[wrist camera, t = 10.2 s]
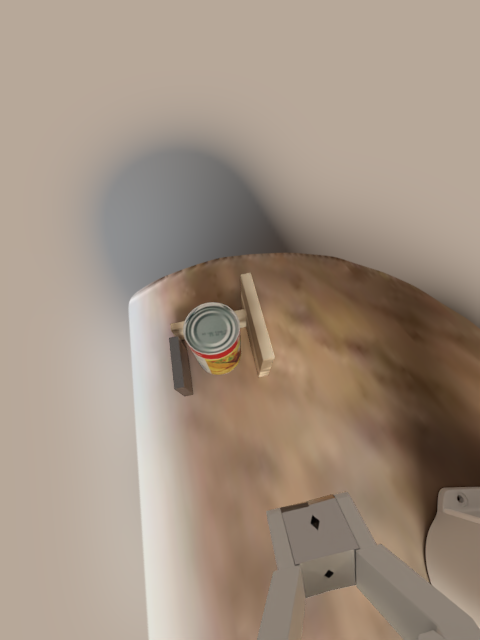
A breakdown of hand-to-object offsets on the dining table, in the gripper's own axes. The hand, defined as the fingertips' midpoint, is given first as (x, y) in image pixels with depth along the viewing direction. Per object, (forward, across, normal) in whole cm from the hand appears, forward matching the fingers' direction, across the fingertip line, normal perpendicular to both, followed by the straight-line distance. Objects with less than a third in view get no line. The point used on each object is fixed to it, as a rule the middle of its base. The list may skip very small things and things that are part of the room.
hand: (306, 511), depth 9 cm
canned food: (+35, +4, +11) cm, 37 cm away
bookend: (+33, +10, +12) cm, 37 cm away
